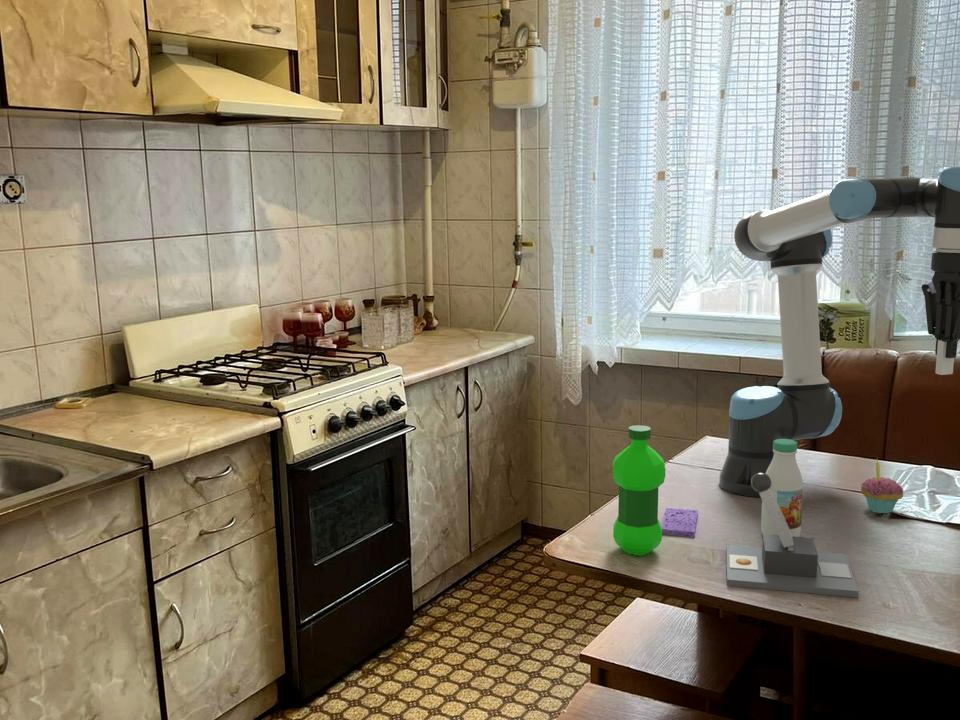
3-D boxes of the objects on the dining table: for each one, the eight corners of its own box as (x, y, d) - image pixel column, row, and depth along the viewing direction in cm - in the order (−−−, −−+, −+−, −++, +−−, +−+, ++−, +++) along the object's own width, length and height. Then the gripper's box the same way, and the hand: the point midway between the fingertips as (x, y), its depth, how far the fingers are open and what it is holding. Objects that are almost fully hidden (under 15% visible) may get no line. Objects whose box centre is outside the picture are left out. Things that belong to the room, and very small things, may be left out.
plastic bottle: (641, 536, 187) (643, 418, 182) (674, 554, 177) (677, 431, 172) (600, 545, 182) (602, 425, 177) (632, 565, 173) (634, 438, 168)
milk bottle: (759, 540, 184) (764, 445, 180) (761, 526, 191) (766, 434, 187) (799, 544, 181) (805, 448, 177) (800, 530, 188) (806, 437, 184)
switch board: (845, 560, 173) (847, 530, 172) (857, 597, 158) (860, 564, 157) (726, 550, 179) (727, 521, 178) (727, 585, 164) (728, 553, 162)
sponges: (698, 517, 198) (698, 509, 197) (694, 539, 186) (695, 531, 186) (665, 515, 200) (665, 507, 199) (659, 536, 188) (660, 528, 187)
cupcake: (881, 519, 194) (885, 465, 191) (850, 506, 201) (854, 454, 199) (910, 513, 197) (915, 459, 195) (879, 500, 205) (883, 449, 202)
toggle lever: (796, 531, 169) (765, 465, 169) (798, 543, 164) (767, 475, 163) (777, 537, 171) (747, 472, 170) (779, 549, 165) (748, 482, 164)
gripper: (999, 252, 165) (986, 379, 170) (945, 247, 177) (935, 365, 182) (965, 253, 163) (953, 382, 168) (912, 248, 175) (903, 368, 180)
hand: (944, 373), depth 175 cm, fingers closed
